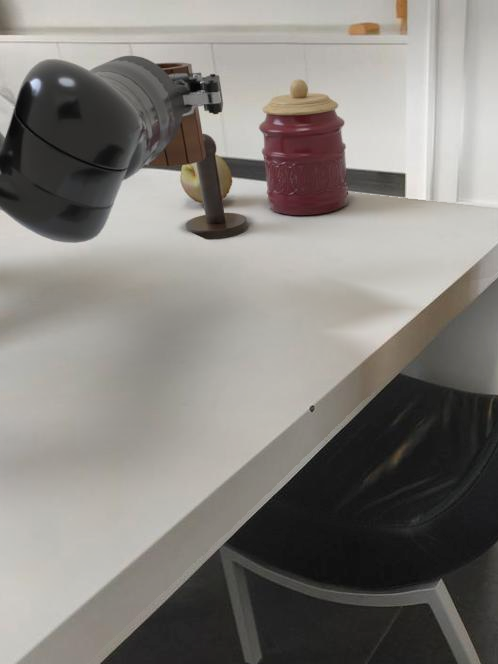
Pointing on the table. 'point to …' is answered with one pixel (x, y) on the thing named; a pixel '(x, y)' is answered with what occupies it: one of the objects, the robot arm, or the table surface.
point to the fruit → (192, 182)
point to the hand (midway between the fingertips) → (165, 86)
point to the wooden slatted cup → (182, 132)
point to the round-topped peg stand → (213, 201)
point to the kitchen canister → (304, 153)
